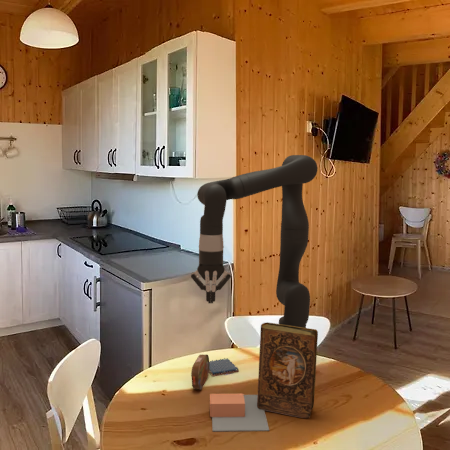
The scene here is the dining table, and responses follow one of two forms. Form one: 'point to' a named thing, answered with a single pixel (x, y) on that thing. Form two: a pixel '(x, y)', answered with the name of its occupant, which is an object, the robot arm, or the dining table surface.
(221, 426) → the slate pad
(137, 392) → the dining table surface
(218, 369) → the woven mat
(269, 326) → the book
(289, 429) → the dining table surface
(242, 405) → the terracotta block
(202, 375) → the tin
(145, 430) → the dining table surface
